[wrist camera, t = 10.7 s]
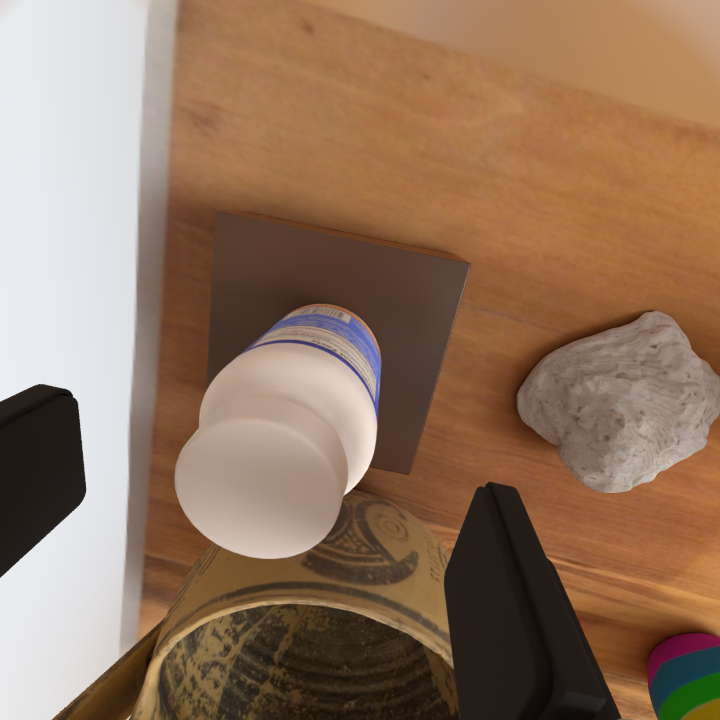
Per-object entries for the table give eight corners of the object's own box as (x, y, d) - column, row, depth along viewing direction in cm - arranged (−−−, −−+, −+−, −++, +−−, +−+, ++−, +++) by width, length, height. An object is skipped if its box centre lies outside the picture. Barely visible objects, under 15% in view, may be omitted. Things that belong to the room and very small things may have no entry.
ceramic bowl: (197, 609, 30) (32, 942, 16) (174, 422, 25) (-115, 692, 11) (480, 642, 29) (562, 1029, 15) (527, 454, 23) (730, 805, 9)
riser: (248, 211, 20) (215, 210, 16) (456, 255, 20) (472, 263, 16) (232, 398, 24) (203, 432, 20) (406, 435, 24) (409, 476, 20)
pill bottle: (330, 429, 19) (276, 617, 10) (245, 359, 18) (100, 498, 9) (406, 355, 18) (423, 501, 8) (317, 274, 17) (229, 341, 8)
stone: (802, 344, 18) (713, 537, 19) (708, 337, 22) (642, 492, 23) (605, 279, 17) (526, 482, 18) (551, 285, 22) (491, 447, 23)
